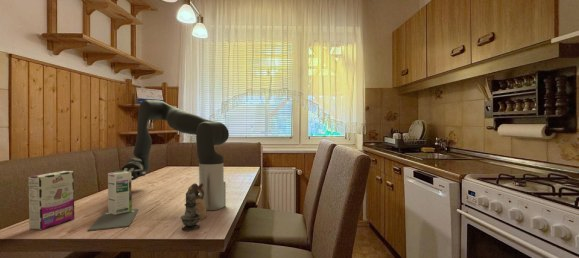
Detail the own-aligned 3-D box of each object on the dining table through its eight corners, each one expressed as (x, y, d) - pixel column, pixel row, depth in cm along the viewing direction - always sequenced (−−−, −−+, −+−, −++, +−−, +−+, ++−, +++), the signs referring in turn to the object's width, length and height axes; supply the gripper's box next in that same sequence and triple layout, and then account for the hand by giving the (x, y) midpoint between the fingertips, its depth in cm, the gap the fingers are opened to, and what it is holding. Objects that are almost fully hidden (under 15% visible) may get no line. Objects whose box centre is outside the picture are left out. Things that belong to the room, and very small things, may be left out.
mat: (104, 212, 106) (104, 211, 106) (138, 209, 110) (138, 208, 110) (87, 231, 87) (87, 229, 87) (129, 226, 91) (129, 225, 91)
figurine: (189, 215, 103) (188, 181, 103) (208, 215, 103) (208, 181, 103) (180, 221, 96) (180, 185, 96) (202, 221, 96) (202, 185, 96)
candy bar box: (62, 218, 100) (62, 170, 99) (75, 219, 99) (74, 171, 98) (27, 229, 89) (27, 175, 88) (40, 230, 88) (40, 176, 87)
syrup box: (115, 215, 101) (115, 173, 101) (107, 212, 104) (107, 172, 105) (131, 211, 105) (131, 171, 106) (124, 209, 109) (124, 170, 109)
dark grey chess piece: (180, 226, 91) (180, 188, 91) (199, 223, 93) (199, 186, 93) (181, 232, 86) (181, 192, 86) (201, 229, 88) (201, 190, 88)
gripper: (115, 162, 127) (105, 167, 111) (148, 161, 132) (143, 166, 116) (115, 179, 127) (105, 187, 111) (148, 177, 132) (143, 184, 116)
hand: (125, 176), depth 113 cm, fingers closed
